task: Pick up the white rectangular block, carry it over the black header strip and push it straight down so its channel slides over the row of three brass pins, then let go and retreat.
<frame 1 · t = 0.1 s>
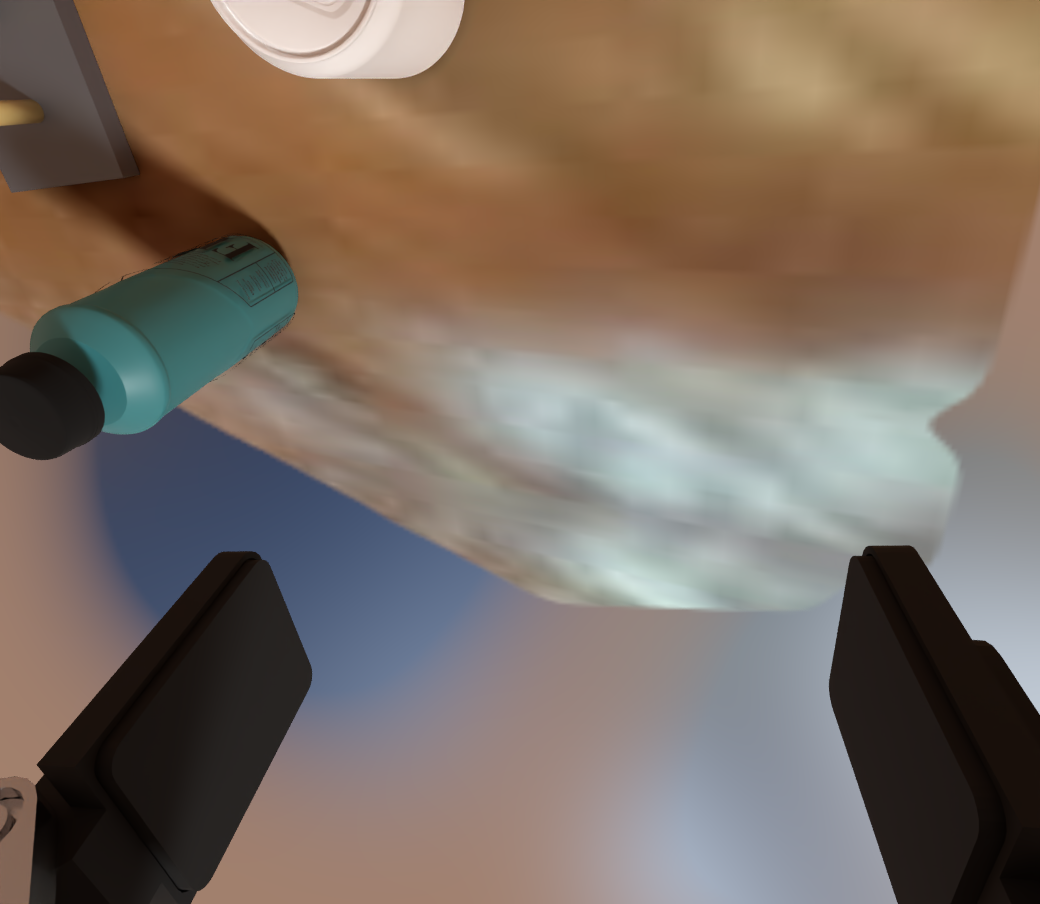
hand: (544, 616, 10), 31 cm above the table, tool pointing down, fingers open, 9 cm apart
header: (10, 9, 35), on the table
beverage bottle: (266, 278, 42), on the table
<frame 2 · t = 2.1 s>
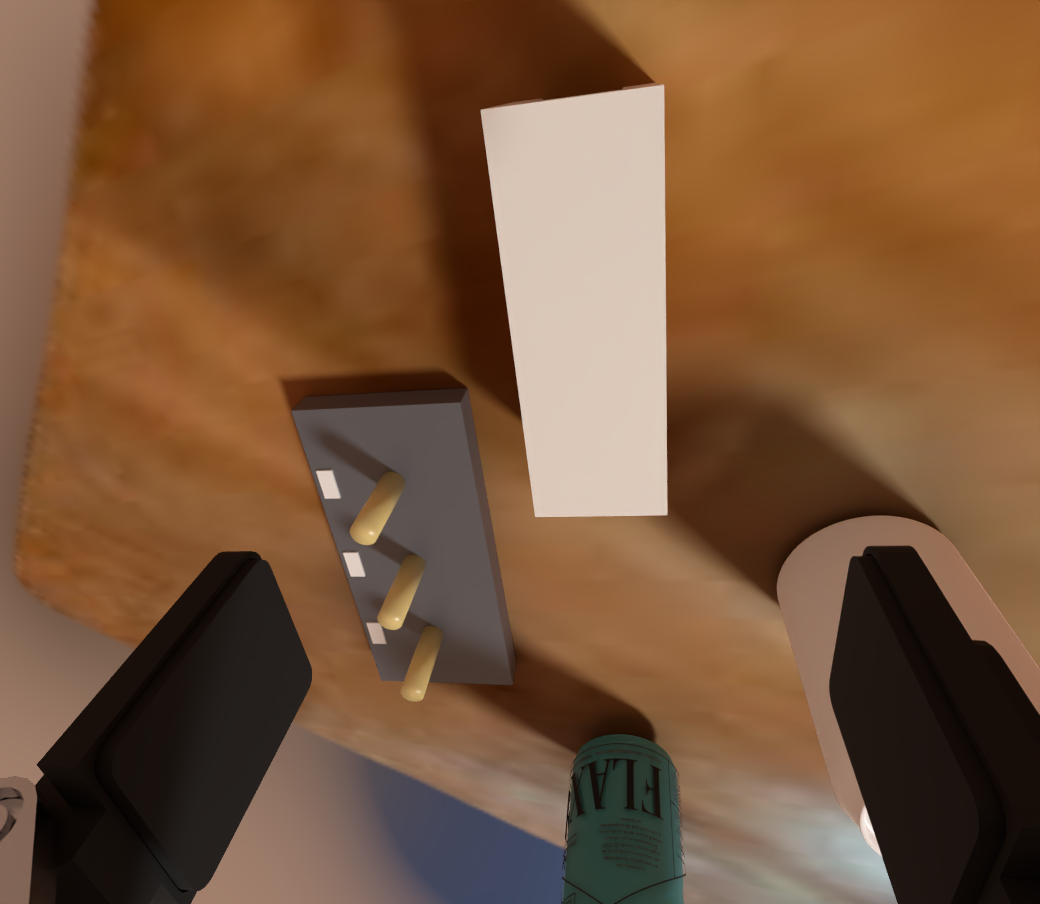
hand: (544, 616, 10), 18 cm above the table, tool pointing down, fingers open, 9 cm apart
header: (422, 545, 34), on the table
white rectangular block: (595, 289, 26), on the table
beverage bottle: (623, 741, 40), on the table
beverage can: (860, 571, 31), on the table
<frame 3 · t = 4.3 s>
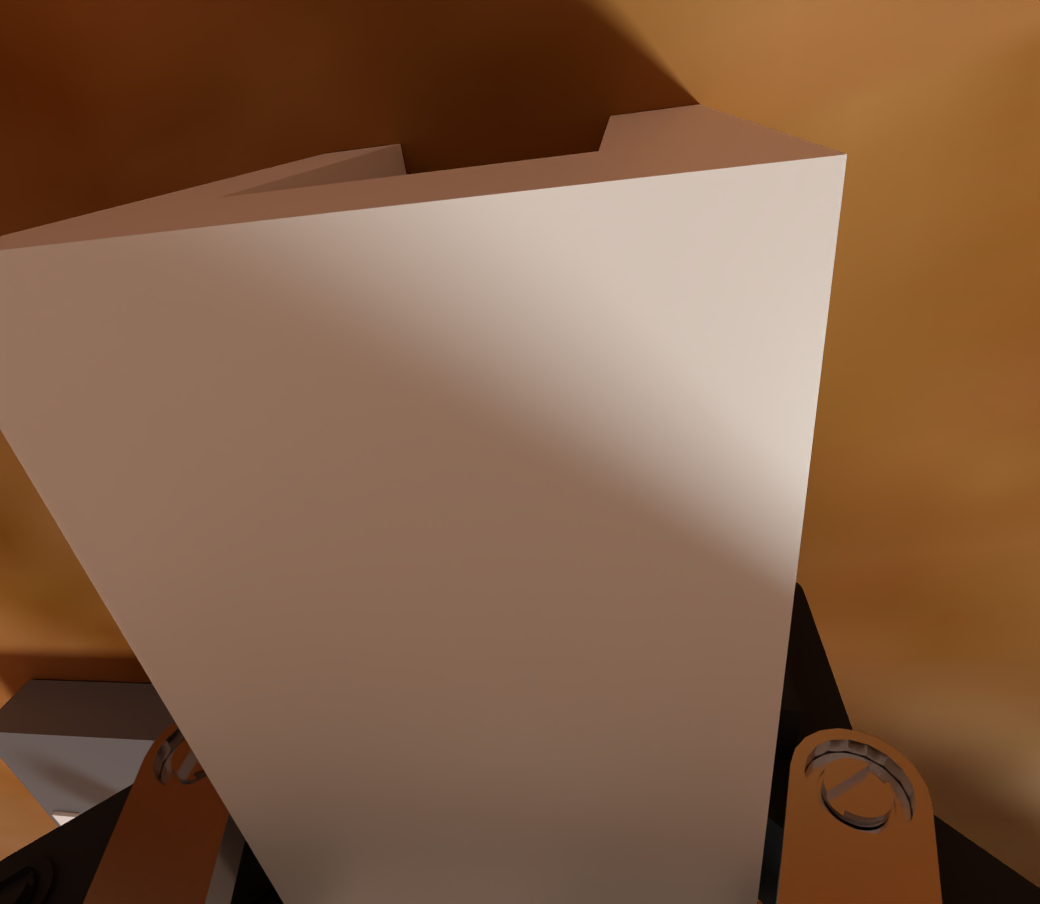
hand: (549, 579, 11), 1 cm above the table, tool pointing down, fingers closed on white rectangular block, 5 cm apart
header: (281, 879, 20), on the table
white rectangular block: (553, 551, 12), on the table, touching gripper
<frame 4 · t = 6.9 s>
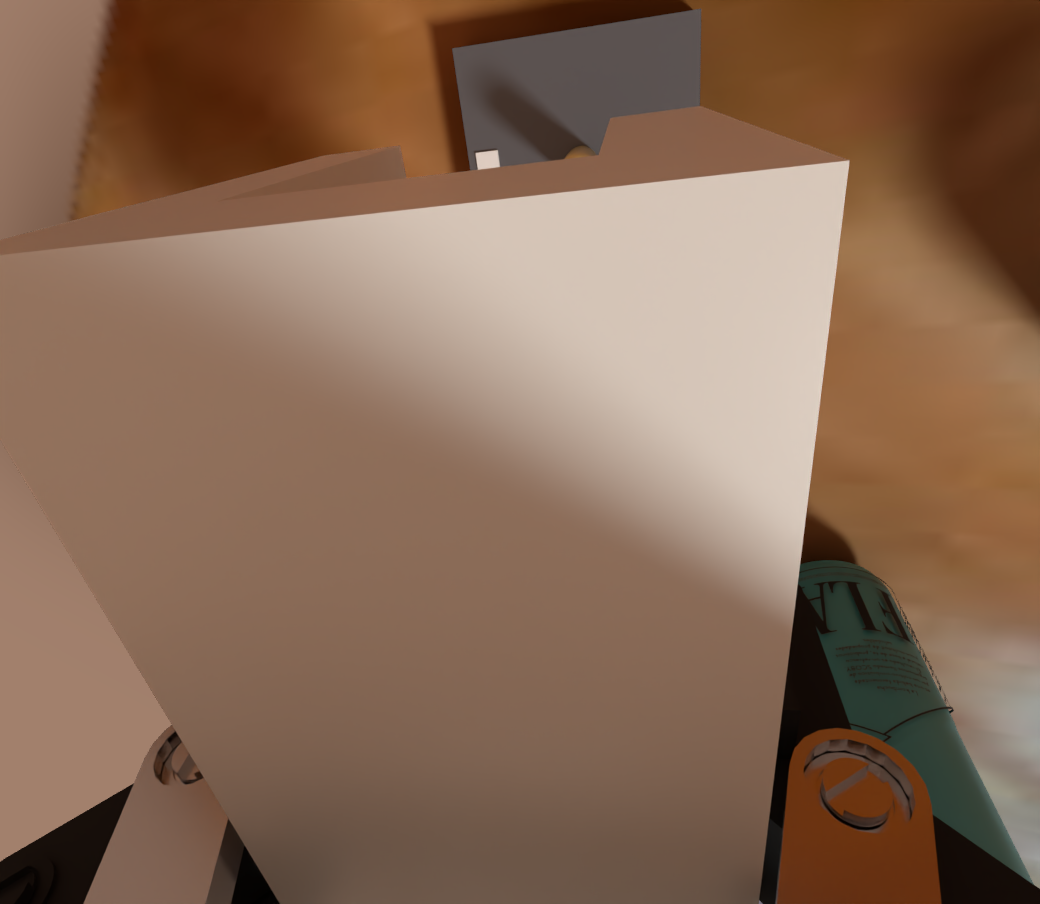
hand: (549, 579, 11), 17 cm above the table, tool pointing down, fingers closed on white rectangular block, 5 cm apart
header: (592, 292, 26), on the table
white rectangular block: (553, 553, 12), point 17 cm above the table, touching gripper
beverage bottle: (811, 584, 32), on the table
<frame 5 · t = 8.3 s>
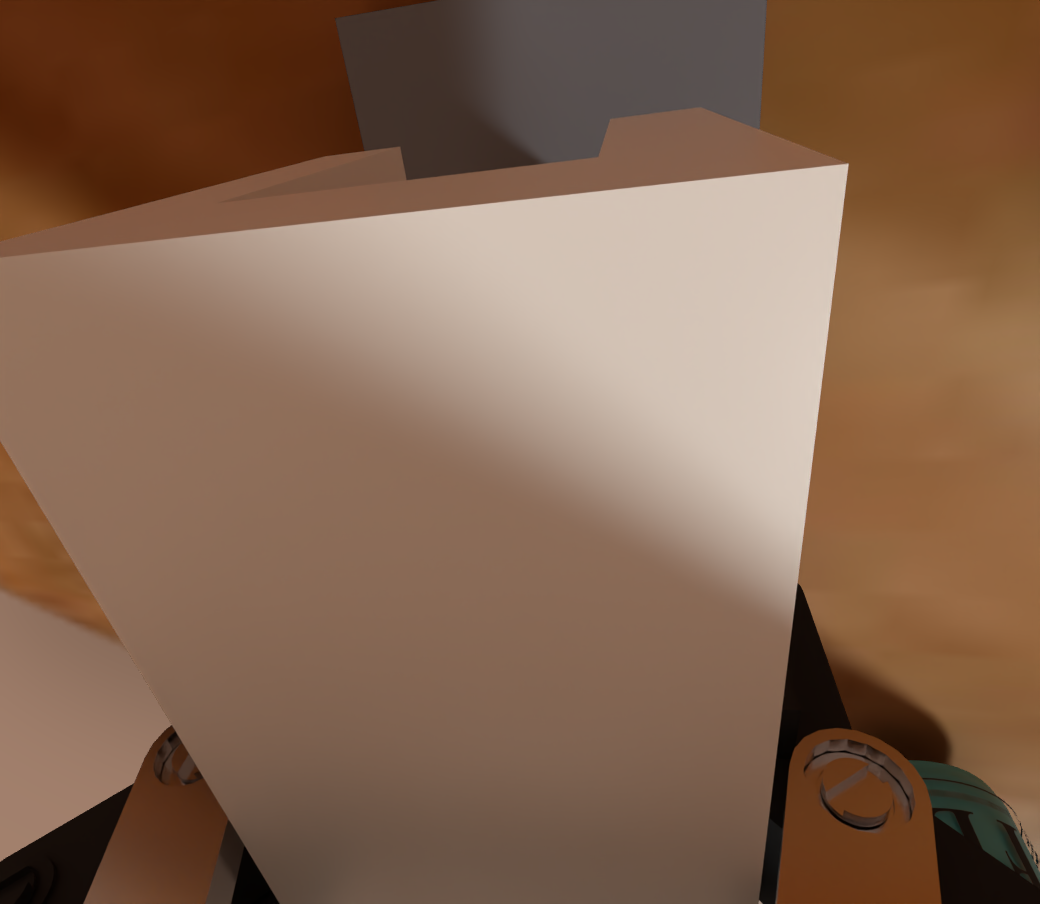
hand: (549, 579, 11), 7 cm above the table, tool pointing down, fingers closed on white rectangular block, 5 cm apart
header: (580, 394, 17), on the table
white rectangular block: (553, 554, 12), point 7 cm above the table, touching gripper
beverage bottle: (883, 769, 23), on the table
when the fingers open (3 cm above the table, at t = 9.5 s): white rectangular block stays where it is, resting on header.
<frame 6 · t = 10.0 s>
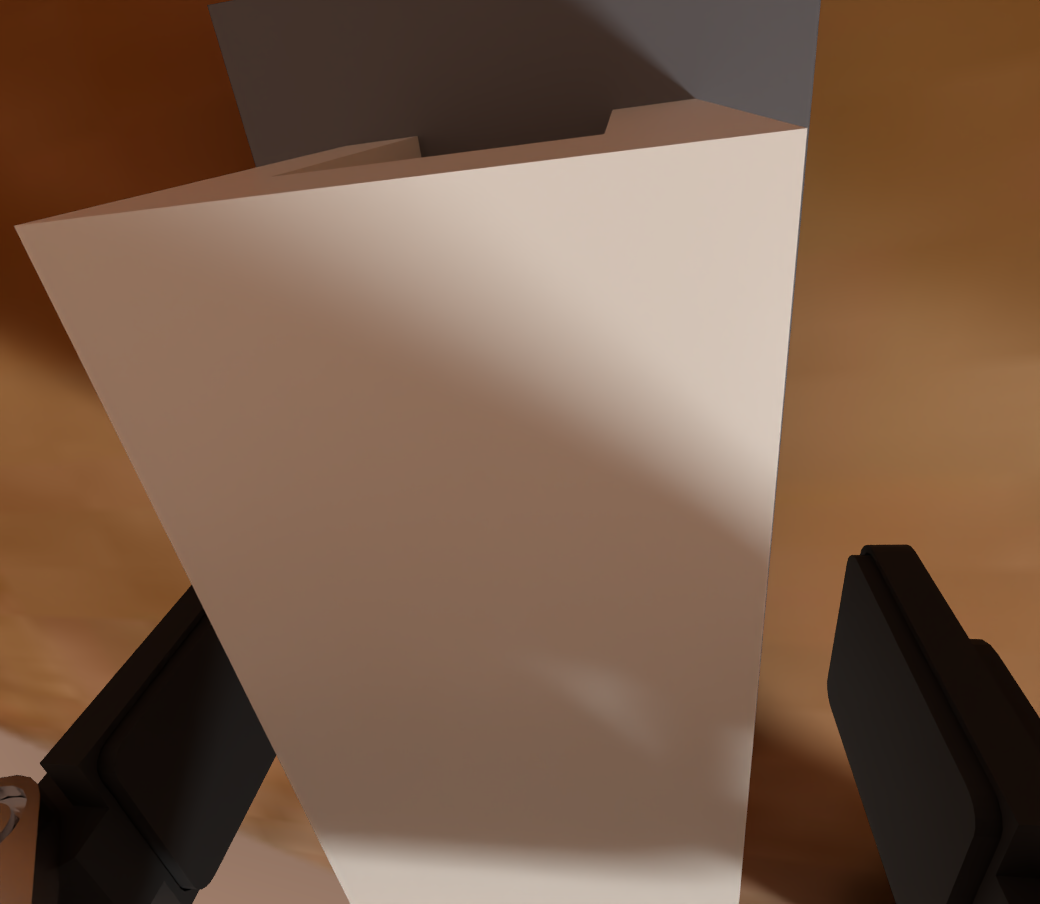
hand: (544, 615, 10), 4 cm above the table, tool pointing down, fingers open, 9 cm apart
header: (563, 485, 14), on the table
white rectangular block: (558, 524, 12), point 1 cm above the table, touching header
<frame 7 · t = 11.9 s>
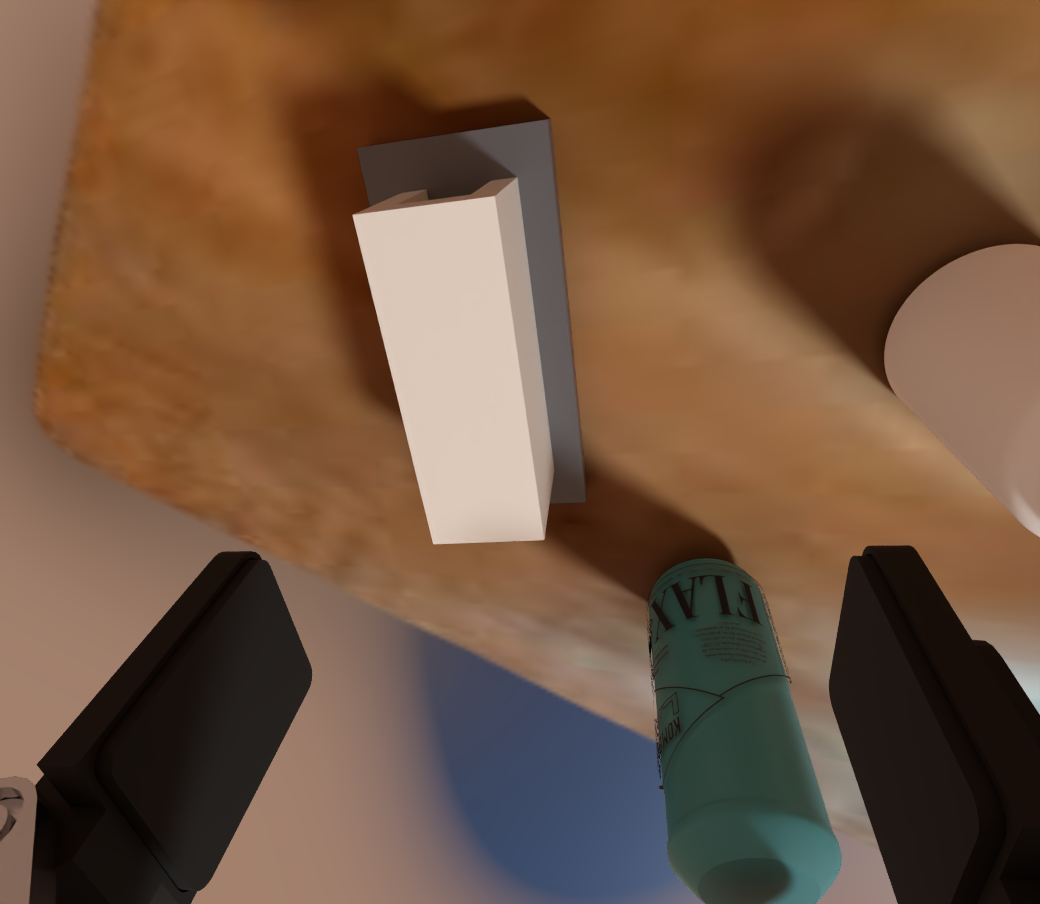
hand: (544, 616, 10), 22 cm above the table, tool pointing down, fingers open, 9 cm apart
header: (489, 335, 31), on the table
white rectangular block: (485, 344, 30), point 1 cm above the table, touching header
beverage bottle: (699, 581, 37), on the table
beverage can: (974, 332, 28), on the table
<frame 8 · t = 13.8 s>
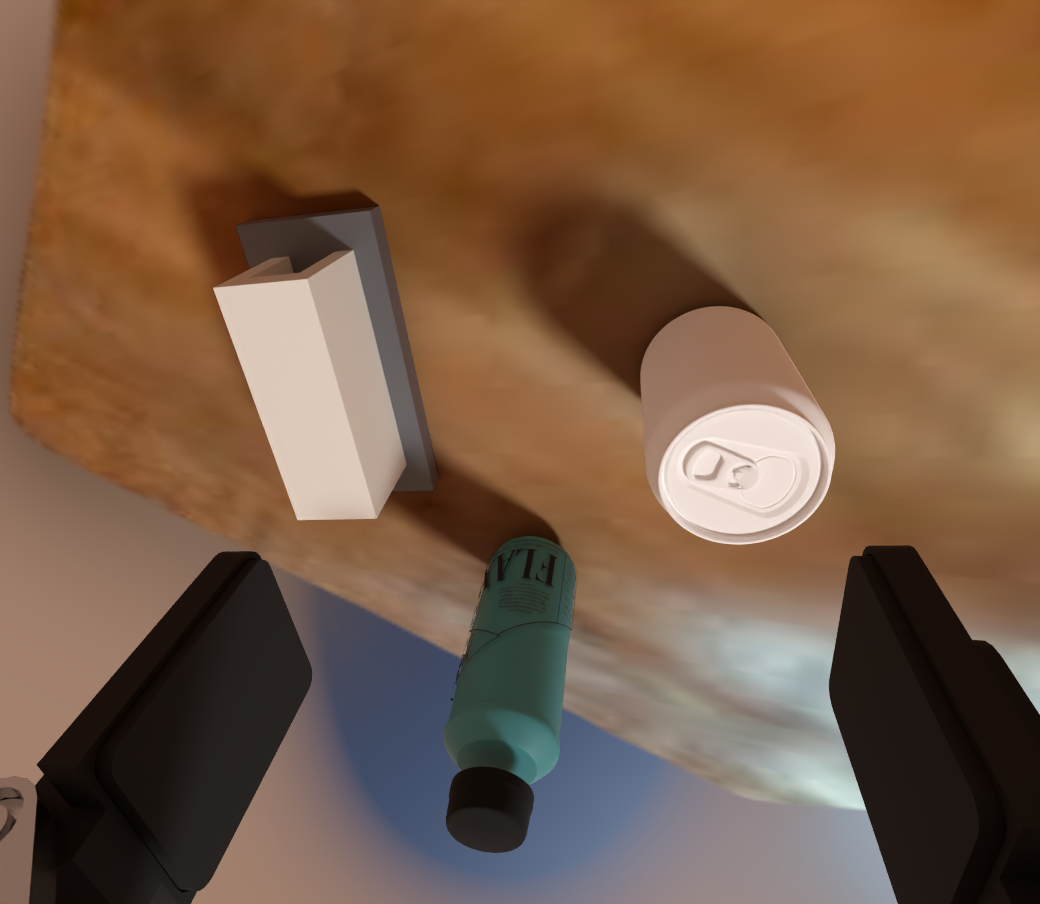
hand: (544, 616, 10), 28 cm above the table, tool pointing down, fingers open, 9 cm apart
header: (352, 361, 40), on the table
white rectangular block: (344, 369, 39), point 1 cm above the table, touching header
beverage bottle: (535, 554, 46), on the table
beverage can: (709, 368, 37), on the table
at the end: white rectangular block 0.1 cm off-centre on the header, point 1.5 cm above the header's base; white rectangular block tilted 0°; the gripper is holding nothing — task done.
